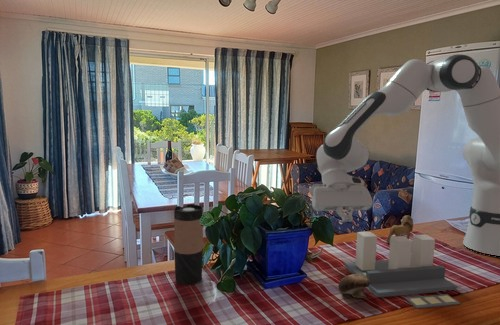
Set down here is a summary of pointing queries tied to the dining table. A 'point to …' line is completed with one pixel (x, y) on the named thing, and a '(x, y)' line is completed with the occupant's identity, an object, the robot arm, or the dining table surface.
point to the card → (432, 301)
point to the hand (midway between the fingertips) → (348, 220)
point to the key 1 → (366, 250)
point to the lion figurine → (402, 228)
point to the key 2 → (422, 251)
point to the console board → (403, 279)
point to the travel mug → (188, 244)
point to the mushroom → (354, 285)
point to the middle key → (399, 252)
